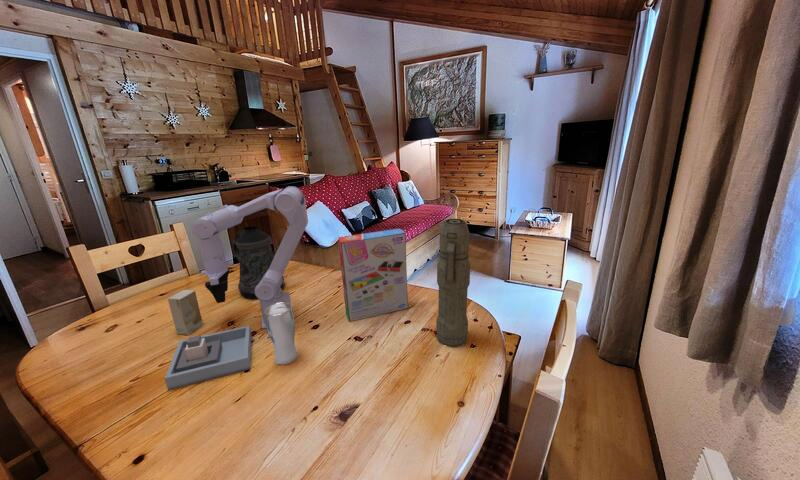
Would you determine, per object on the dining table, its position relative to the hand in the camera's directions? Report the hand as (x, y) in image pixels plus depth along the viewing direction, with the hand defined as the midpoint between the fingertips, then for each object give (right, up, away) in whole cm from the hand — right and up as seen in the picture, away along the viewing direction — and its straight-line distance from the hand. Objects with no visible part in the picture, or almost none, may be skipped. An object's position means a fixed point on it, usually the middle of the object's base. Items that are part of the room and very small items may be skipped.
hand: (222, 296), depth 101 cm
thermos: (+70, -11, -7) cm, 72 cm away
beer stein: (0, -2, +26) cm, 26 cm away
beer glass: (+25, -14, -13) cm, 31 cm away
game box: (+48, -7, +8) cm, 49 cm away
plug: (+2, -15, -15) cm, 21 cm away
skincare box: (-11, -11, +1) cm, 15 cm away
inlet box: (+5, -15, -13) cm, 21 cm away
